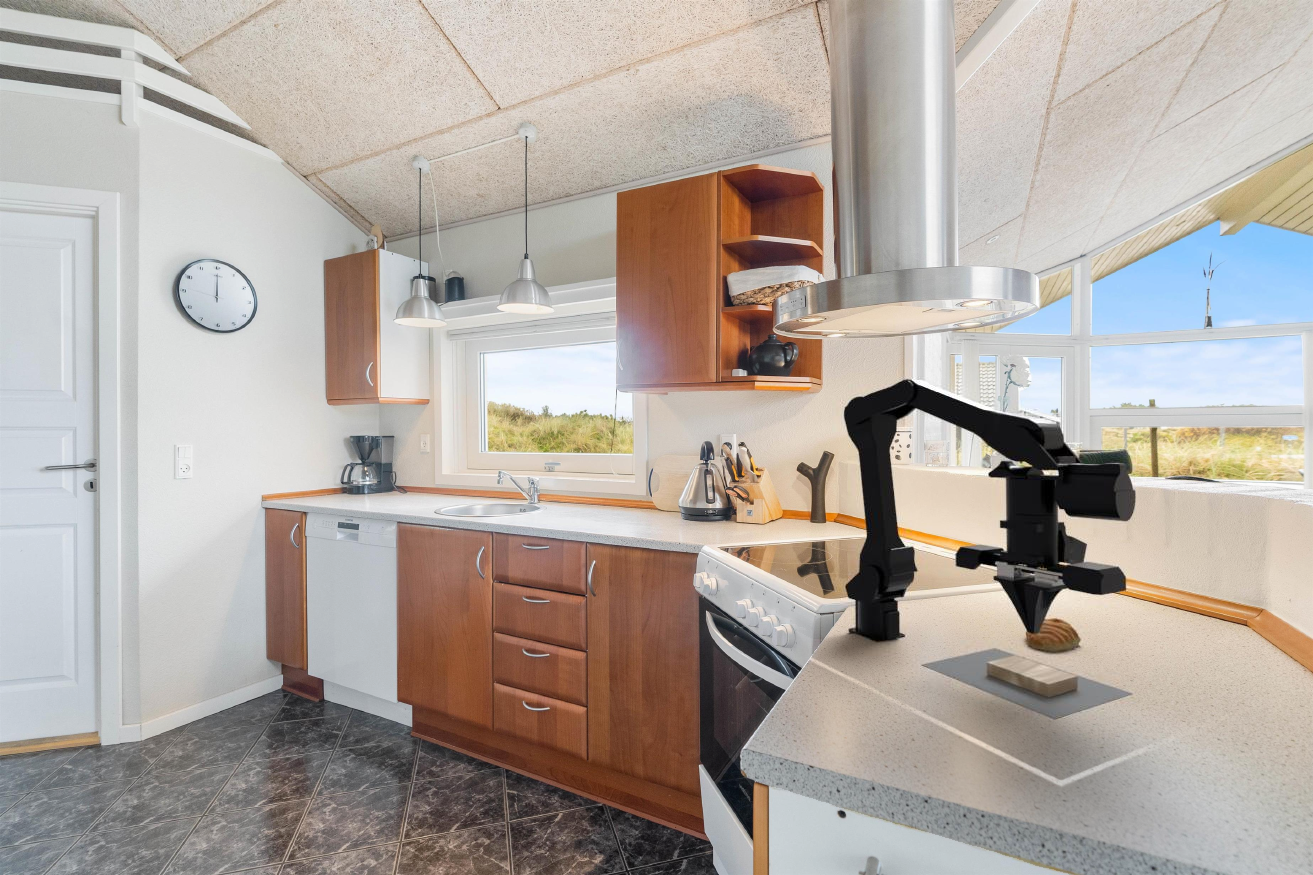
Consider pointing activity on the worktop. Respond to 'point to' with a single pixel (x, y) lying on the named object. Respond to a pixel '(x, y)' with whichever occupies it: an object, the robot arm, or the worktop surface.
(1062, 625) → the pastry
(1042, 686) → the tile
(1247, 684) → the worktop surface
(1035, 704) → the mat
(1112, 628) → the worktop surface
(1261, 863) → the worktop surface
